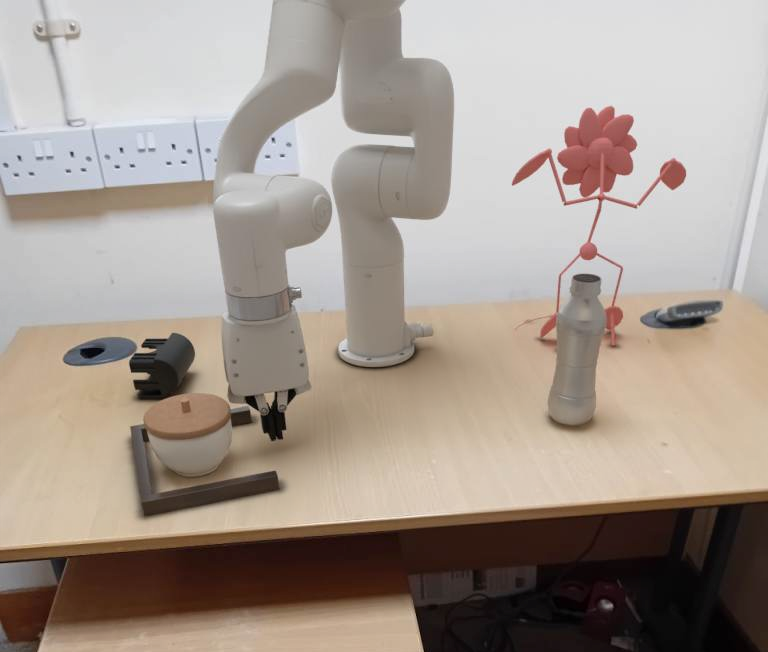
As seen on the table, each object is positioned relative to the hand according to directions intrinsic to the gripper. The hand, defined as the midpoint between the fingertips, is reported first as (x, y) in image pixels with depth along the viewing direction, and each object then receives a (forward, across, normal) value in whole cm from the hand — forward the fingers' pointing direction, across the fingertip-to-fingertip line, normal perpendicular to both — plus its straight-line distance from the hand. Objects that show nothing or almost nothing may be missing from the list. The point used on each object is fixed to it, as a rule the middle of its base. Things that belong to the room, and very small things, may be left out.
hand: (275, 435), depth 105 cm
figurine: (+2, -56, -21) cm, 60 cm away
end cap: (+2, +12, -25) cm, 28 cm away
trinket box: (+2, +11, 0) cm, 11 cm away
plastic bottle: (+2, -40, +7) cm, 41 cm away
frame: (+2, +10, 0) cm, 10 cm away
